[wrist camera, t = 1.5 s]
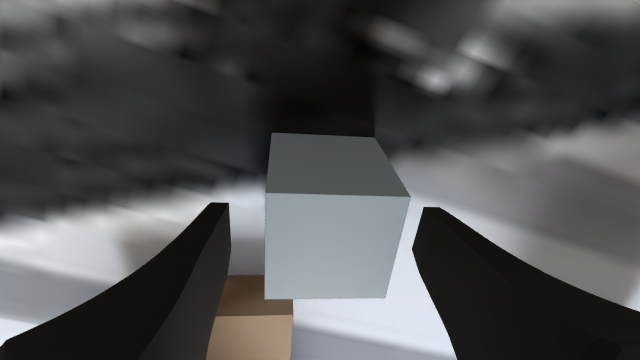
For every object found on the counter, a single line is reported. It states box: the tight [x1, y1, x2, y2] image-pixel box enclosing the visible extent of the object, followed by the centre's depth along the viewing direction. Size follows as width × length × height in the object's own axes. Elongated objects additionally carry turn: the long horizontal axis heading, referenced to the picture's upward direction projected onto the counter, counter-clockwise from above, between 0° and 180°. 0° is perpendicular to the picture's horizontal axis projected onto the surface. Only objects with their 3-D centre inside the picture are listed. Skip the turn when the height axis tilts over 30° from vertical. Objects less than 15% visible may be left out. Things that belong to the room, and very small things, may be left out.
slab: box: [206, 275, 293, 360], centre depth 19 cm, size 8×8×3 cm
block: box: [265, 133, 411, 299], centre depth 13 cm, size 4×4×5 cm
